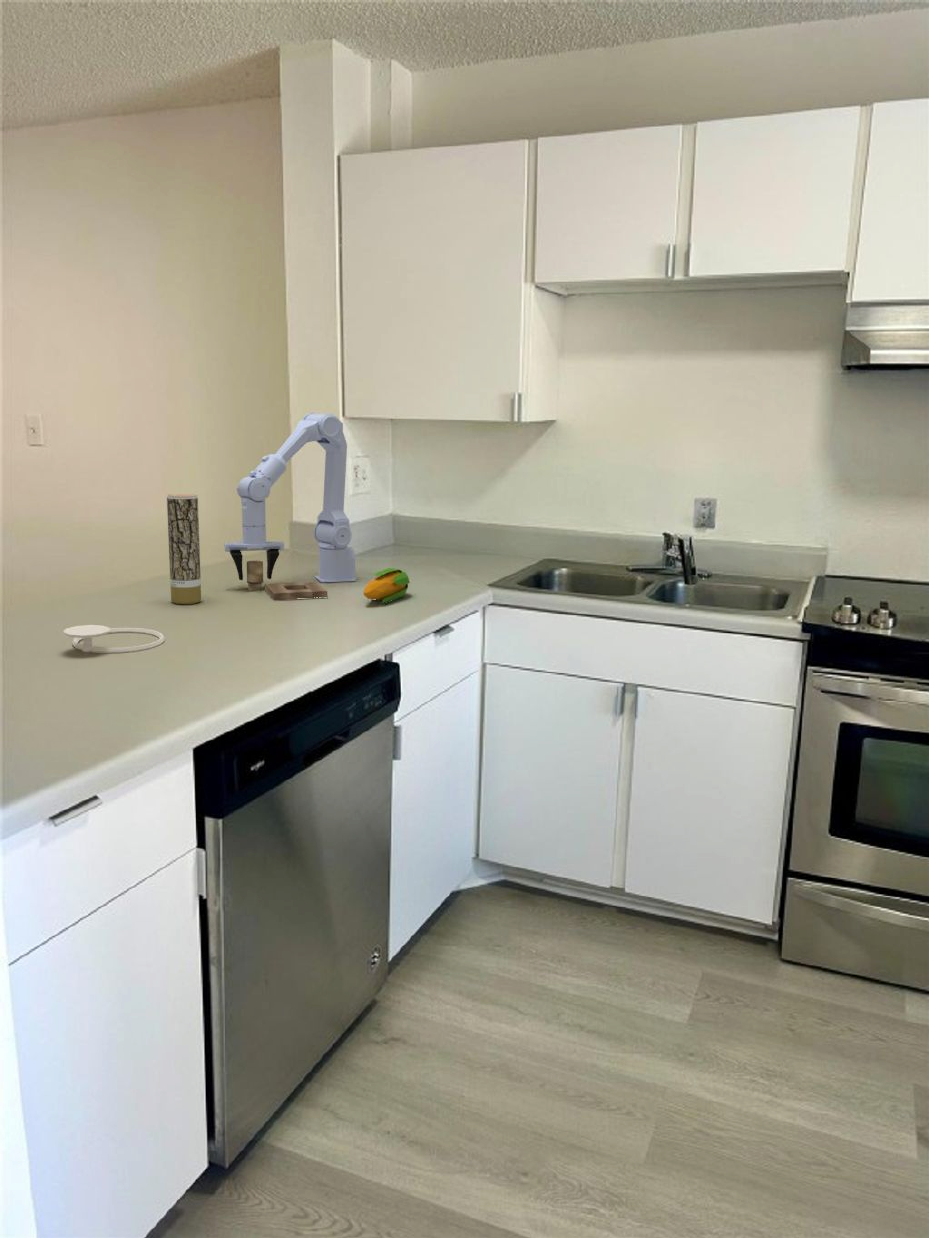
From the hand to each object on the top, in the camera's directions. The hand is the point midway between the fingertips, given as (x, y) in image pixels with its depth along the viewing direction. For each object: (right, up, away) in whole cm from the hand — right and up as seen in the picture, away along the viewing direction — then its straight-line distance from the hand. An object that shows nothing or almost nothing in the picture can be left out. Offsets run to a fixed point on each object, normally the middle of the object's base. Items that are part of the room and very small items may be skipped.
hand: (255, 578), depth 232 cm
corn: (+34, -6, -7) cm, 35 cm away
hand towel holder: (-15, -15, -55) cm, 59 cm away
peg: (0, -3, +1) cm, 3 cm away
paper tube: (-12, -6, -17) cm, 22 cm away
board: (+11, -4, -4) cm, 13 cm away
